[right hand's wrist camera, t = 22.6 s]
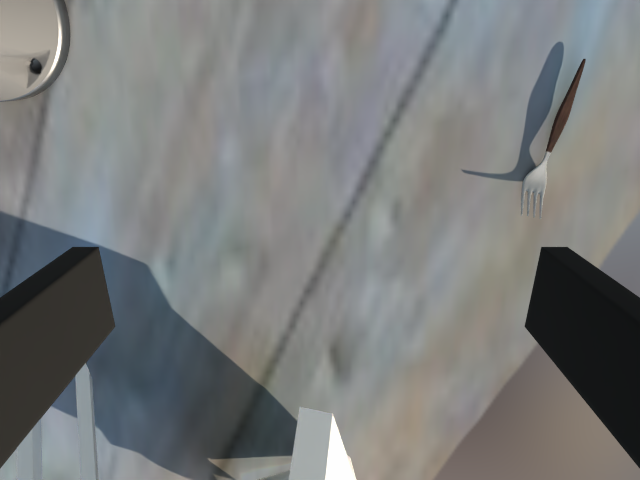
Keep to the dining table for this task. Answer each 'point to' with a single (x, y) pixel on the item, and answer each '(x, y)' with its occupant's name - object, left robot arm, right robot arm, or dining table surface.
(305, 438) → the white plastic object
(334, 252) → the dining table surface
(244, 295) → the dining table surface
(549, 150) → the fork
